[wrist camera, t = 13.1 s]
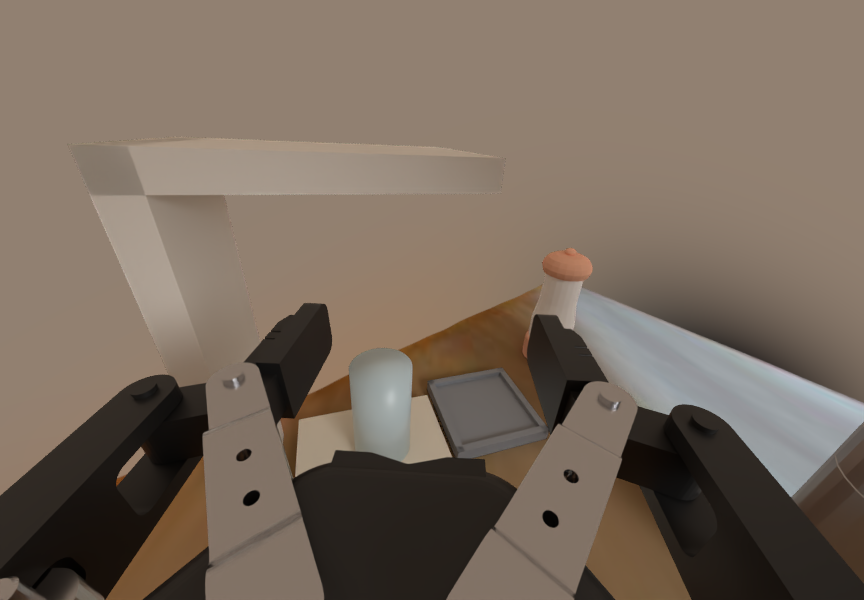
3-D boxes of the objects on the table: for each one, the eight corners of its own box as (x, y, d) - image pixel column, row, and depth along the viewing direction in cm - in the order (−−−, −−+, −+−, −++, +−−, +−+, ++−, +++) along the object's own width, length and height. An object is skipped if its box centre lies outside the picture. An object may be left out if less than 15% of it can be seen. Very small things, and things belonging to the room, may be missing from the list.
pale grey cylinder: (402, 418, 39) (404, 344, 34) (415, 461, 34) (419, 381, 29) (352, 429, 37) (346, 352, 32) (358, 476, 32) (352, 393, 27)
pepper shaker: (572, 354, 55) (605, 249, 47) (555, 374, 51) (588, 261, 42) (533, 337, 60) (557, 238, 51) (514, 354, 55) (537, 247, 46)
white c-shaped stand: (426, 405, 43) (440, 147, 29) (458, 489, 33) (505, 158, 19) (265, 438, 38) (177, 136, 23) (246, 551, 28) (66, 144, 13)
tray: (500, 375, 50) (502, 367, 49) (546, 438, 40) (549, 429, 39) (427, 389, 46) (427, 380, 46) (457, 462, 36) (458, 452, 35)
